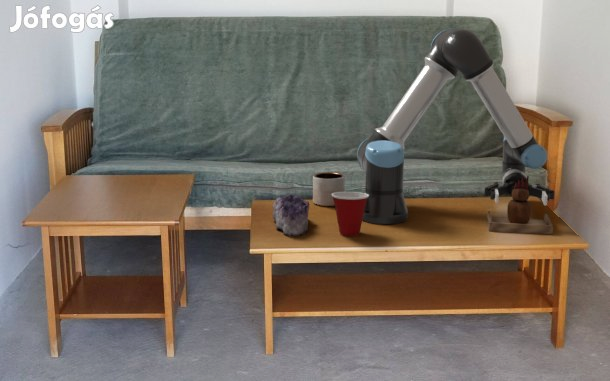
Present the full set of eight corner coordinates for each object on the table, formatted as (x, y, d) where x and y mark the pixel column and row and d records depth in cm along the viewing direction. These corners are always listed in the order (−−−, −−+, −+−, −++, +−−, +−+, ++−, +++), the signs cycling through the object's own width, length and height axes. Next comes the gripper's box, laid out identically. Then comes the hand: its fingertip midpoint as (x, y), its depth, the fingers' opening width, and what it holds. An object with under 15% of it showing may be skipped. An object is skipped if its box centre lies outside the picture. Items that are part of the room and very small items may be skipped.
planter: (332, 208, 229) (332, 180, 227) (306, 203, 235) (306, 176, 233) (351, 202, 237) (351, 174, 235) (325, 197, 244) (325, 170, 241)
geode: (319, 236, 201) (314, 203, 198) (279, 243, 200) (274, 210, 197) (308, 214, 220) (304, 184, 217) (272, 220, 219) (268, 190, 216)
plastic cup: (371, 229, 206) (371, 189, 203) (365, 240, 196) (365, 198, 193) (335, 226, 209) (335, 188, 206) (327, 237, 199) (327, 196, 196)
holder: (489, 231, 203) (489, 222, 203) (487, 218, 216) (487, 211, 215) (552, 234, 200) (552, 226, 199) (546, 221, 212) (547, 213, 212)
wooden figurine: (532, 223, 208) (535, 174, 205) (527, 228, 204) (530, 178, 200) (510, 220, 212) (512, 172, 208) (504, 225, 207) (507, 176, 204)
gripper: (555, 196, 221) (565, 214, 201) (474, 193, 226) (476, 210, 206) (557, 173, 219) (567, 189, 199) (476, 170, 224) (478, 185, 204)
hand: (521, 199), depth 203 cm, fingers open, 13 cm apart
